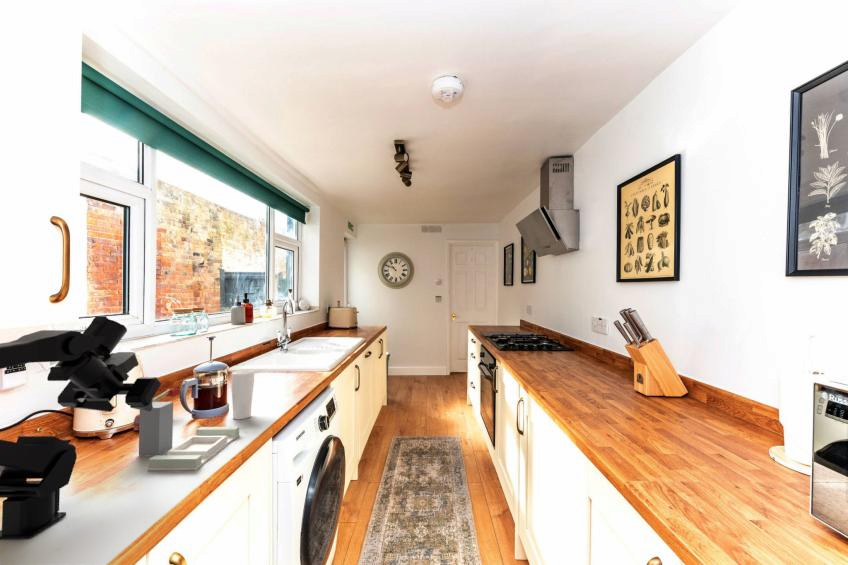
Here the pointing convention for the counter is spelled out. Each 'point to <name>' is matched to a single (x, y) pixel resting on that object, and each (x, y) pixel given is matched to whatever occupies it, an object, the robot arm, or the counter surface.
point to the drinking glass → (242, 393)
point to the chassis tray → (195, 449)
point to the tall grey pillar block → (156, 429)
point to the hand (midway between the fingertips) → (131, 409)
